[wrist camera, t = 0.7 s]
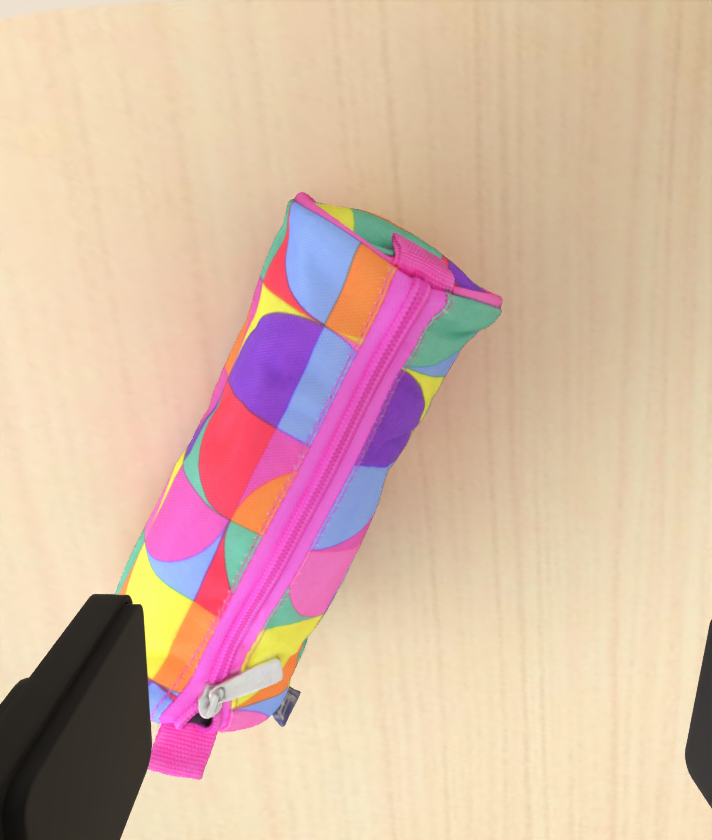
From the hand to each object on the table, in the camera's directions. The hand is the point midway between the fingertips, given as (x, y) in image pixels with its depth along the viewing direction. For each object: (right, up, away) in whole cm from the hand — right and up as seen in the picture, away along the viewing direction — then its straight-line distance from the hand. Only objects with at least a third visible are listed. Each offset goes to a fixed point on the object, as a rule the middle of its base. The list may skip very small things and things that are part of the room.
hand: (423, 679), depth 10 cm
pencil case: (-4, +3, +20) cm, 20 cm away
